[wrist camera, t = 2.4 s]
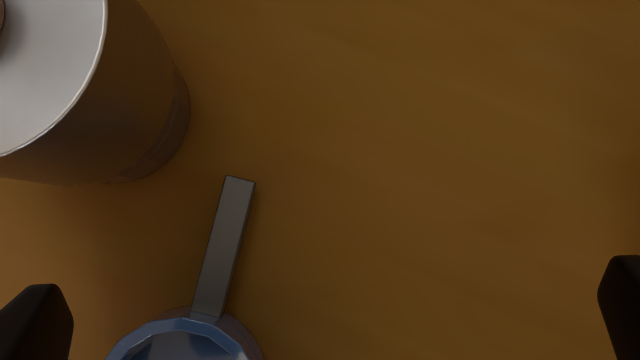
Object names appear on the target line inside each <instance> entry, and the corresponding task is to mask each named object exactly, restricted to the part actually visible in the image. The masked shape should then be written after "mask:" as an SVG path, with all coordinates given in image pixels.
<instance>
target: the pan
mask: <svg viewBox="0 0 640 360" xmlns="http://www.w3.org/2000/svg"><path fill="white" fill-rule="evenodd" d="M190 309H191V306H184V307H179V308H175V309H171V310H167V311H165V312H163V313H161V314H160V315H158V316H156V317H155V318H153V319H151V320H150V321H148V322H146V323H145V324H143V325H141V326H140V327H138V328H137V329H135V330H133V331H132V332H130V333H129V334H127V335H125V336H124V337H122V338H121V339H120V340H119V341H118V342H117V343H116V345H115V346H114V347H113V349H112V350H111V351H110V353H109V354H108V355H107V357H106V358H105V359H104V360H264V357H263V354H262V352H261V349H260V347H259V345H258V343H257V341H256V340H255V338H254V337H253V335H252V334H251V333H250V331H249V330H248V329H247V328H246V327H245V326H244V325H243V324H242V323H240V322H239V321H238V320H237V319H235V318H234V317H232V316H231V315H229V314H227V313H225V312H224V313H223V316H222V317H221V318H218V317H214V316H210V315H206V314H202V313H198V312H194V311H190Z"/></svg>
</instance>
